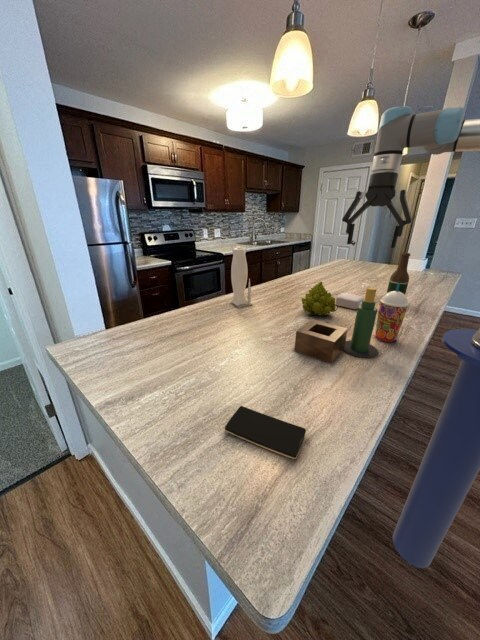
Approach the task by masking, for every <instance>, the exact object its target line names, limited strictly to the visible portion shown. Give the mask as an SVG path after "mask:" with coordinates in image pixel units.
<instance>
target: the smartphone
mask: <svg viewBox="0 0 480 640" xmlns="http://www.w3.org/2000/svg"><path fill="white" fill-rule="evenodd" d="M224 432H226V433H228V434H230V435H233V436H235V437H237V438H239V439H242V440H244V441H246V442H249V443H251V444H253V445H257V446H258V447H261V448H263V449H266V450H268V451H271V452H273V453H276V454H278V455H280V456H283V457H286V458H290V459H291V460H296V459H297V458H298V456H299V453H300V451H301V449H302V447H303V443H304V440H305V436H306V432H307V429H306V428H305V427H302V426H299V425H297V424H293V423H290V422H288V421H284V420H282V419H279V418H276V417H273V416H271V415H267V414H265V413H263V412H262V413H261V412H259V411H256V410H253V409H251V408H248V407H246V406H243V405H240V406H239V407H238V408H237V410H236V411H235V412H234V413H233V415H232V416H231V417H230V419H229V420H228V422H227V423H226V424H225V426H224Z"/></svg>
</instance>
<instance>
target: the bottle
mask: <svg viewBox="0 0 480 640" xmlns="http://www.w3.org/2000/svg"><path fill="white" fill-rule="evenodd" d="M376 294H377V287H371V286H370V287H369V286H368V287H366V290H365V295H364V300H363V301H362V305H359V306H358V309H356V314H355V320H354V325H353V330H352V334H351V340H350V341H351V345H350V348H351V349H352V350H354V351H357V352H367V351H368V349H369V344H370V345H371V339H372V336H373V332H374V331H373V330H374V327H375V322H376V317H377V315H378V308H377V306H376V301H375V298H376Z"/></svg>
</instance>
